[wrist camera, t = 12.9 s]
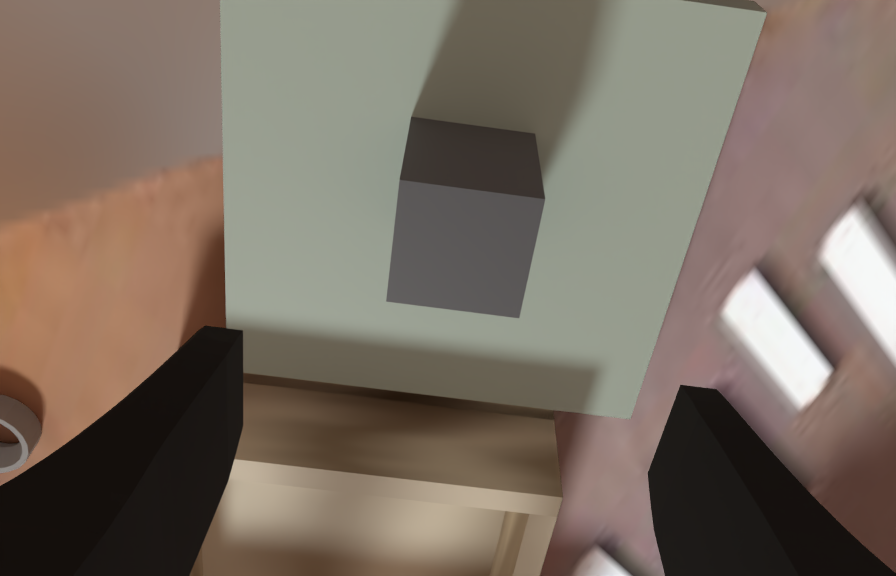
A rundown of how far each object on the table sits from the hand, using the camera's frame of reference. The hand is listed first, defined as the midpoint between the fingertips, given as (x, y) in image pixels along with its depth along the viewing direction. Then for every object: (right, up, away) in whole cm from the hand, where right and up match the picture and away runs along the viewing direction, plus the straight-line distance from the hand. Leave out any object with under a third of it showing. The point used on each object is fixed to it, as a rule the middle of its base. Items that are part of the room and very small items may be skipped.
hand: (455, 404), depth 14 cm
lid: (0, +5, +9) cm, 10 cm away
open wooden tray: (-4, -6, +16) cm, 17 cm away
